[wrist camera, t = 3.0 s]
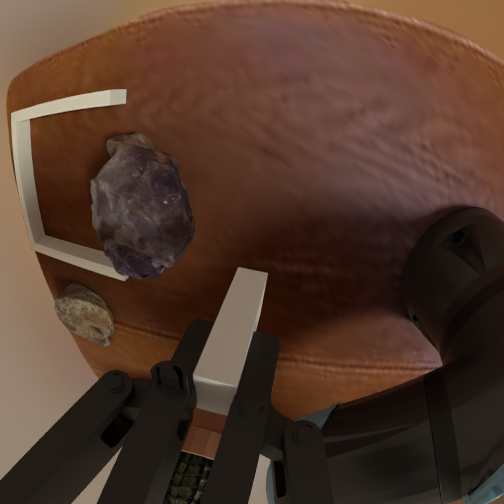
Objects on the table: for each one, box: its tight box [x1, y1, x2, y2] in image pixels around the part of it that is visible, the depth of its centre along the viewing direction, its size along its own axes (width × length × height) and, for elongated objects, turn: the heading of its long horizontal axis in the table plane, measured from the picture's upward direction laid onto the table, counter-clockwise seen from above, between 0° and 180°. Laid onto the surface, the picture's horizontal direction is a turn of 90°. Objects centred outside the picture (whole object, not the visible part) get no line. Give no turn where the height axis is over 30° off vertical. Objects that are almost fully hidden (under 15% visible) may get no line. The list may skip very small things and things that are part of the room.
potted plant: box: [162, 404, 227, 504], centre depth 34 cm, size 14×14×25 cm
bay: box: [11, 89, 129, 281], centre depth 26 cm, size 20×21×2 cm
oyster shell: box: [55, 283, 114, 346], centre depth 37 cm, size 11×15×6 cm
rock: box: [90, 132, 195, 279], centre depth 22 cm, size 12×9×10 cm
